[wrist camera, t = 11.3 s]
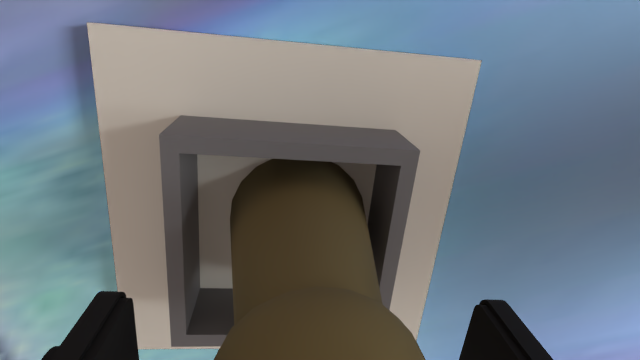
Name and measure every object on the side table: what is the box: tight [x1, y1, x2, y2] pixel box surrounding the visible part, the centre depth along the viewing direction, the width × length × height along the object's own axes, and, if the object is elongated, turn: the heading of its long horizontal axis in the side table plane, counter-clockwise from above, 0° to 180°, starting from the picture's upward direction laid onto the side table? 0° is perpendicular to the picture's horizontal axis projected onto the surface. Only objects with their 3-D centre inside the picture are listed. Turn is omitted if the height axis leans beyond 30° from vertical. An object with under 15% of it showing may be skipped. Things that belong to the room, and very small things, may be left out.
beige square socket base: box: [87, 23, 481, 349], centre depth 16 cm, size 15×15×4 cm
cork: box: [214, 159, 425, 360], centre depth 12 cm, size 6×6×11 cm
